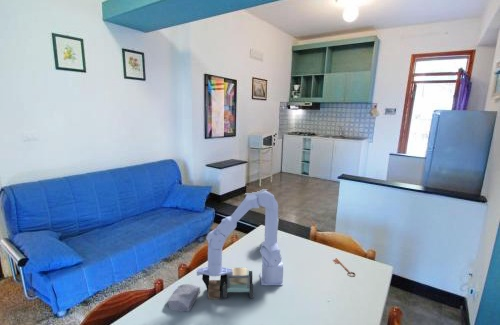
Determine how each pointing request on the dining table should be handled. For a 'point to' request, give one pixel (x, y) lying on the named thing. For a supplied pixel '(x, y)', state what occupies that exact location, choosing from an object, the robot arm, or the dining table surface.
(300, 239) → the dining table surface
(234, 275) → the dark framed glass box
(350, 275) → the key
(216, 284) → the walnut chock
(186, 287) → the stone block
